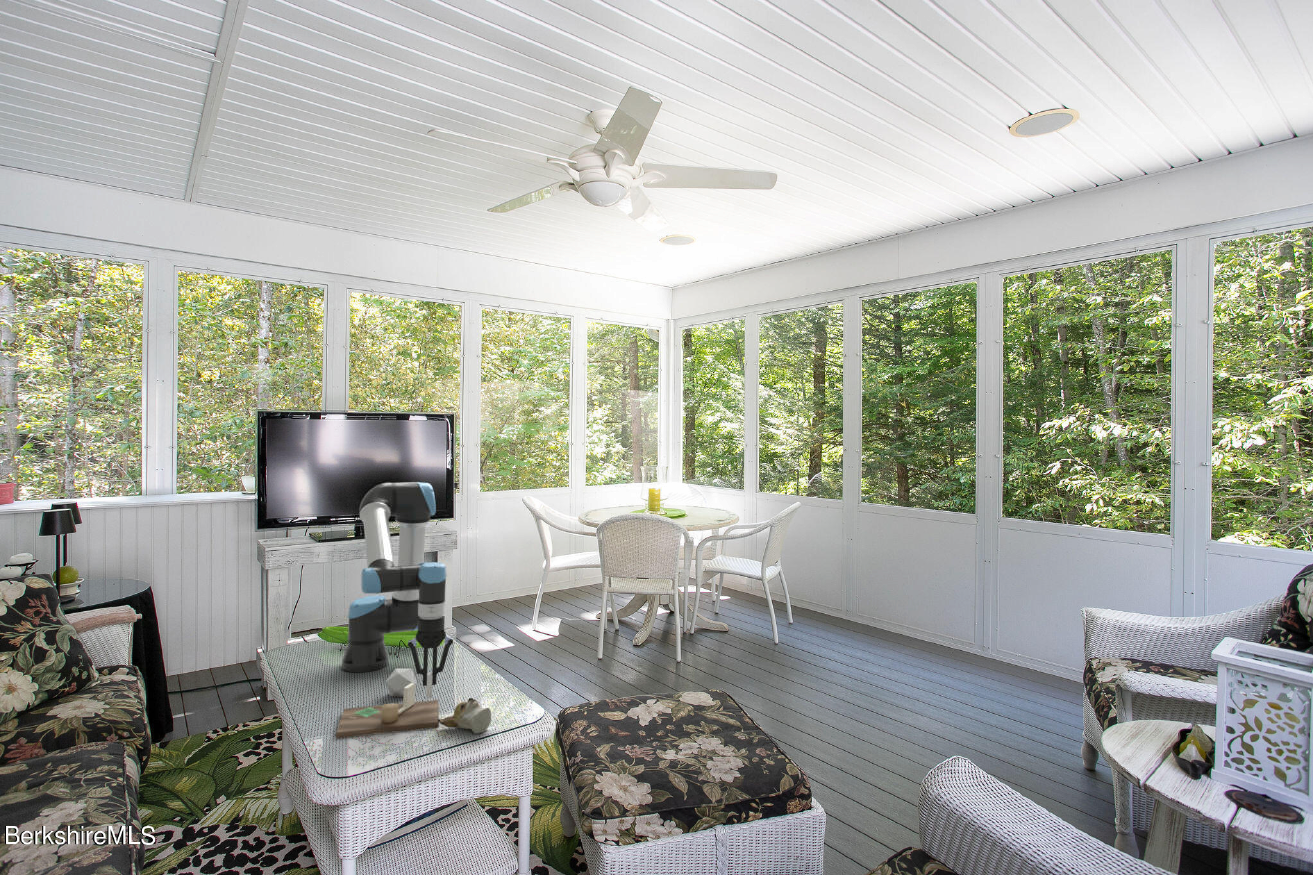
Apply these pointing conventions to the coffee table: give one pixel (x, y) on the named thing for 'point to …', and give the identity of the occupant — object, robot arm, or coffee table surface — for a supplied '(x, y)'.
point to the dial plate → (370, 723)
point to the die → (400, 681)
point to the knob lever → (391, 710)
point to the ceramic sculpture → (469, 717)
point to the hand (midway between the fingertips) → (429, 695)
